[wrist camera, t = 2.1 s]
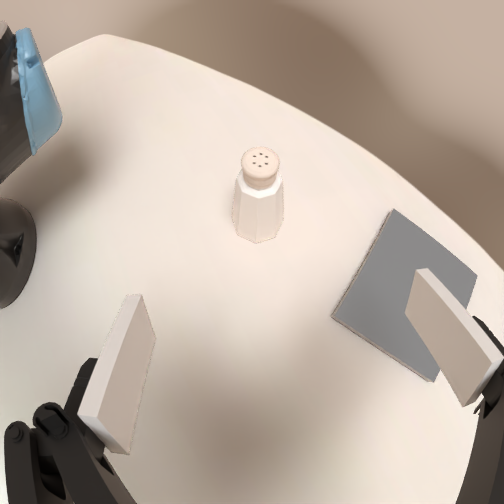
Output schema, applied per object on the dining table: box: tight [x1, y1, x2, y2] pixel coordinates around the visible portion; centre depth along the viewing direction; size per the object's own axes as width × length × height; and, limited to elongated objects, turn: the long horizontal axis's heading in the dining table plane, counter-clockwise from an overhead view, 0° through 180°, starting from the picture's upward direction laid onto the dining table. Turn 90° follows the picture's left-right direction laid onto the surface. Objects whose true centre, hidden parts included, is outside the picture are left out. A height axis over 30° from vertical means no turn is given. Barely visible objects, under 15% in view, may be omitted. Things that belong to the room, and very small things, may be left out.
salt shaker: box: [232, 147, 284, 243], centre depth 26 cm, size 5×5×11 cm
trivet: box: [331, 208, 477, 382], centre depth 28 cm, size 14×14×1 cm
